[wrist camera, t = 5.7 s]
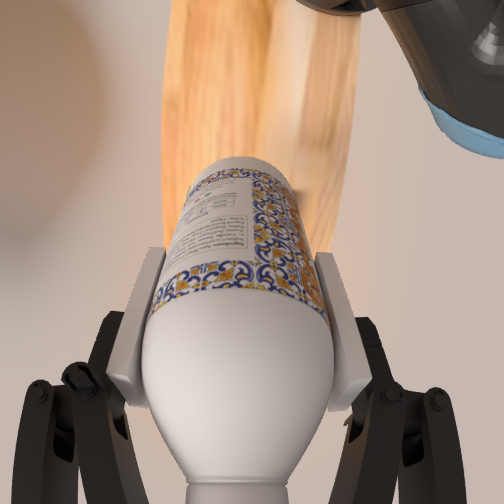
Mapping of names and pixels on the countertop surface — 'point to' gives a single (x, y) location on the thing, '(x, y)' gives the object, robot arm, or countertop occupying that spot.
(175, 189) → the countertop surface
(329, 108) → the countertop surface
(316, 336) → the bath foam
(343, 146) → the countertop surface
